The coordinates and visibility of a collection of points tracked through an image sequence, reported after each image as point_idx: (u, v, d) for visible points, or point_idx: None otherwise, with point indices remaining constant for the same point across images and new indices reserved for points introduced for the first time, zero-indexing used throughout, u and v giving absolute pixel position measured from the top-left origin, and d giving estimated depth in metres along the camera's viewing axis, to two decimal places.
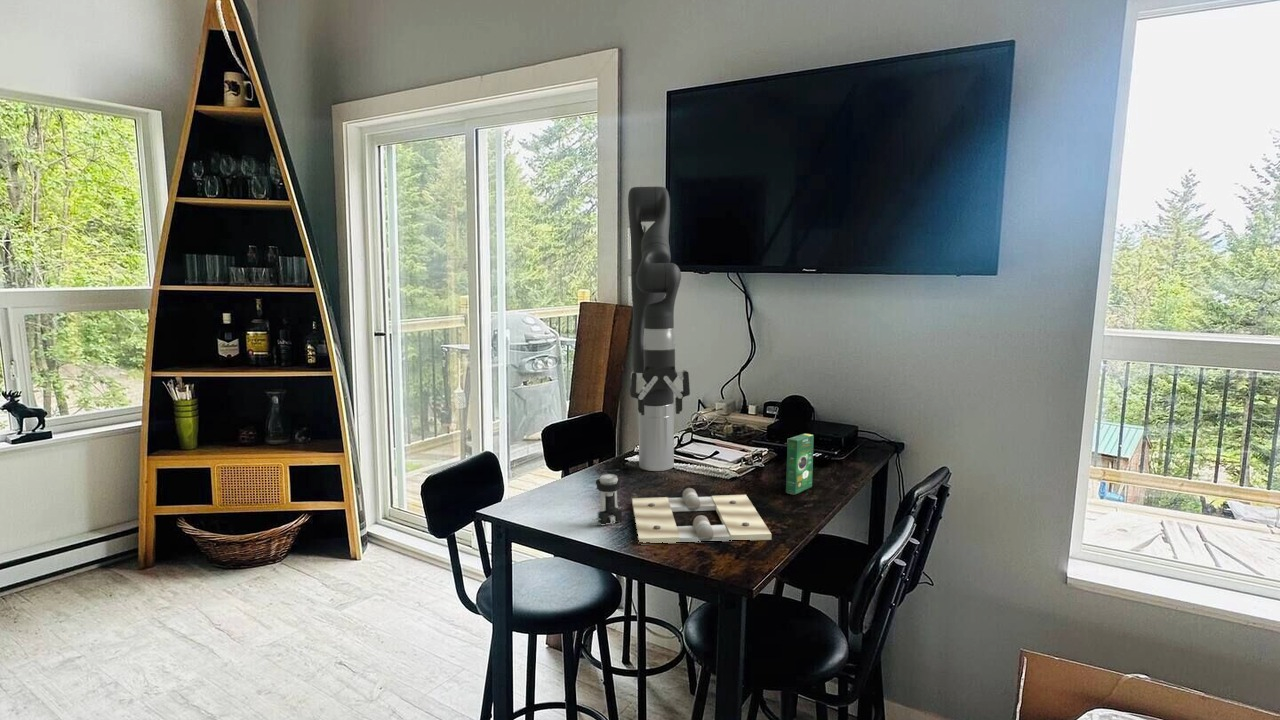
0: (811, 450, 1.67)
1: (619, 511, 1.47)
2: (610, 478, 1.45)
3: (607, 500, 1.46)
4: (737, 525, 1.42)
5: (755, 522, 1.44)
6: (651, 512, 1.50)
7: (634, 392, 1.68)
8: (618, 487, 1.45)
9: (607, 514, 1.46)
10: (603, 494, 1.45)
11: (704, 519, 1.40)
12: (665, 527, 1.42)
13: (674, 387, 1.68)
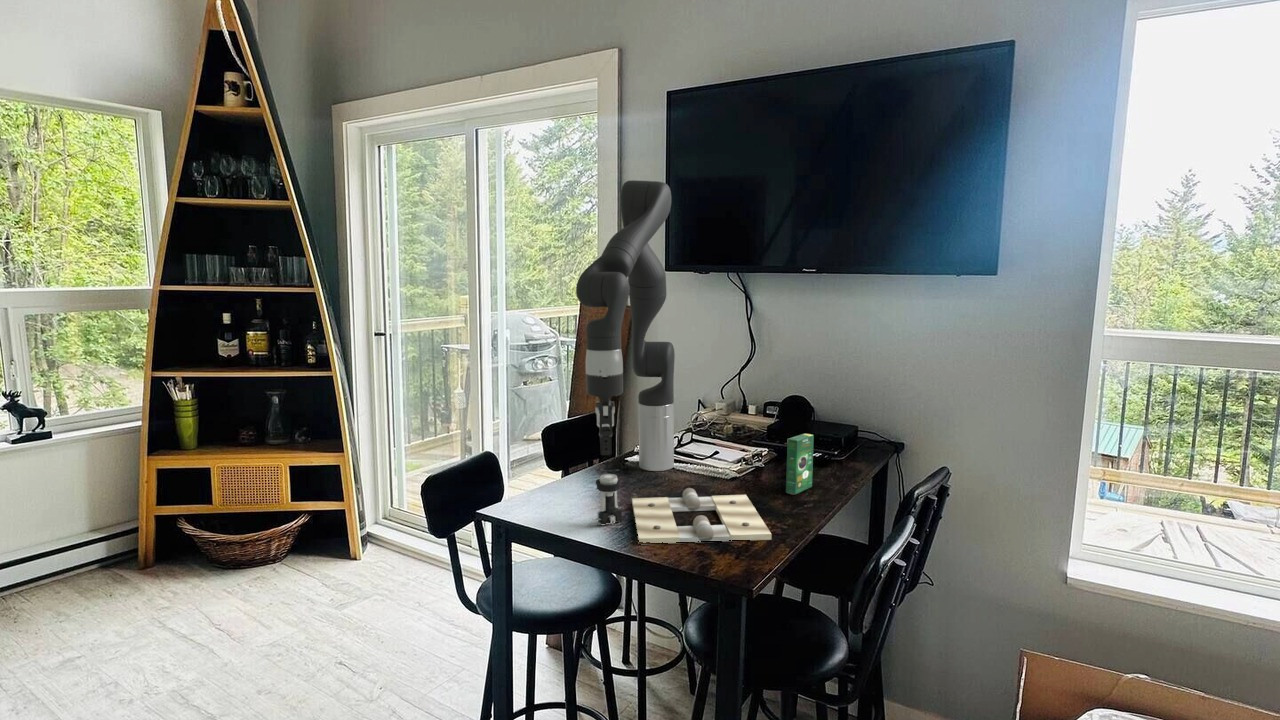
0: (811, 450, 1.67)
1: (619, 511, 1.47)
2: (610, 478, 1.45)
3: (607, 500, 1.46)
4: (737, 525, 1.42)
5: (755, 522, 1.44)
6: (651, 512, 1.50)
7: None
8: (618, 487, 1.45)
9: (607, 514, 1.46)
10: (603, 494, 1.45)
11: (704, 519, 1.40)
12: (665, 527, 1.42)
13: None
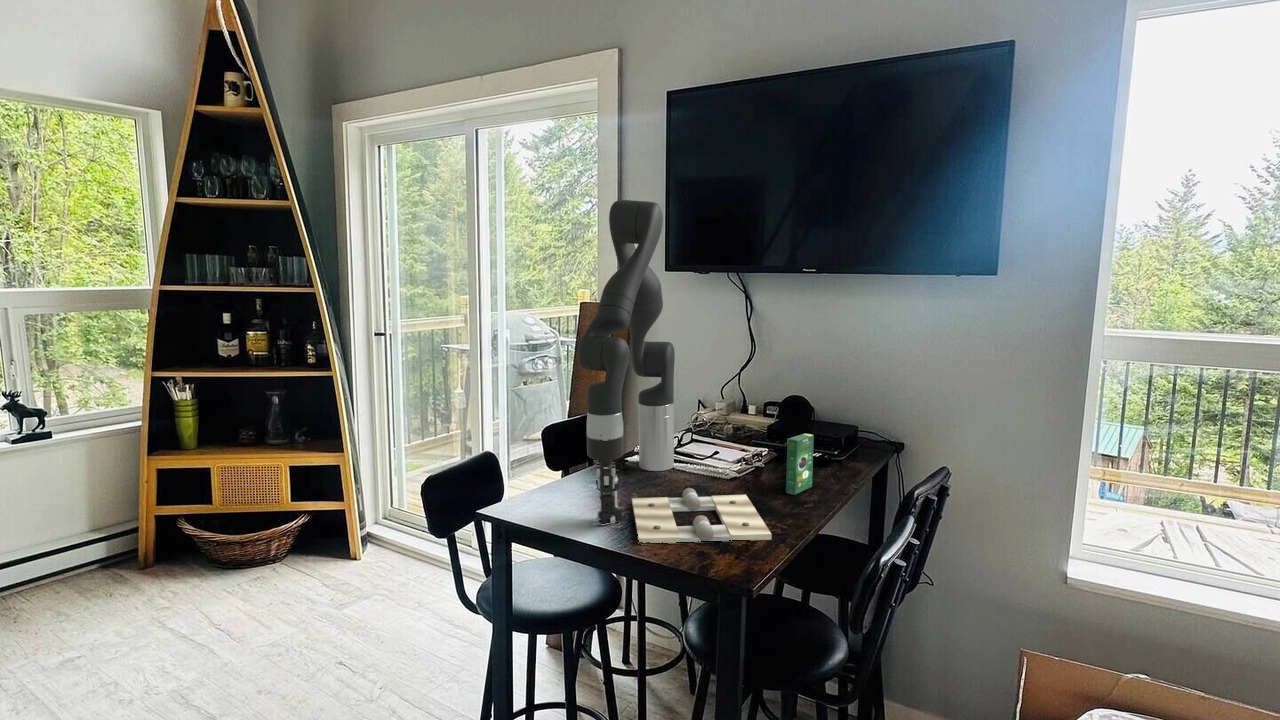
0: (811, 450, 1.67)
1: (619, 511, 1.47)
2: None
3: None
4: (737, 525, 1.42)
5: (755, 522, 1.44)
6: (651, 512, 1.50)
7: None
8: (618, 487, 1.45)
9: None
10: (603, 494, 1.45)
11: (704, 519, 1.40)
12: (665, 527, 1.42)
13: None
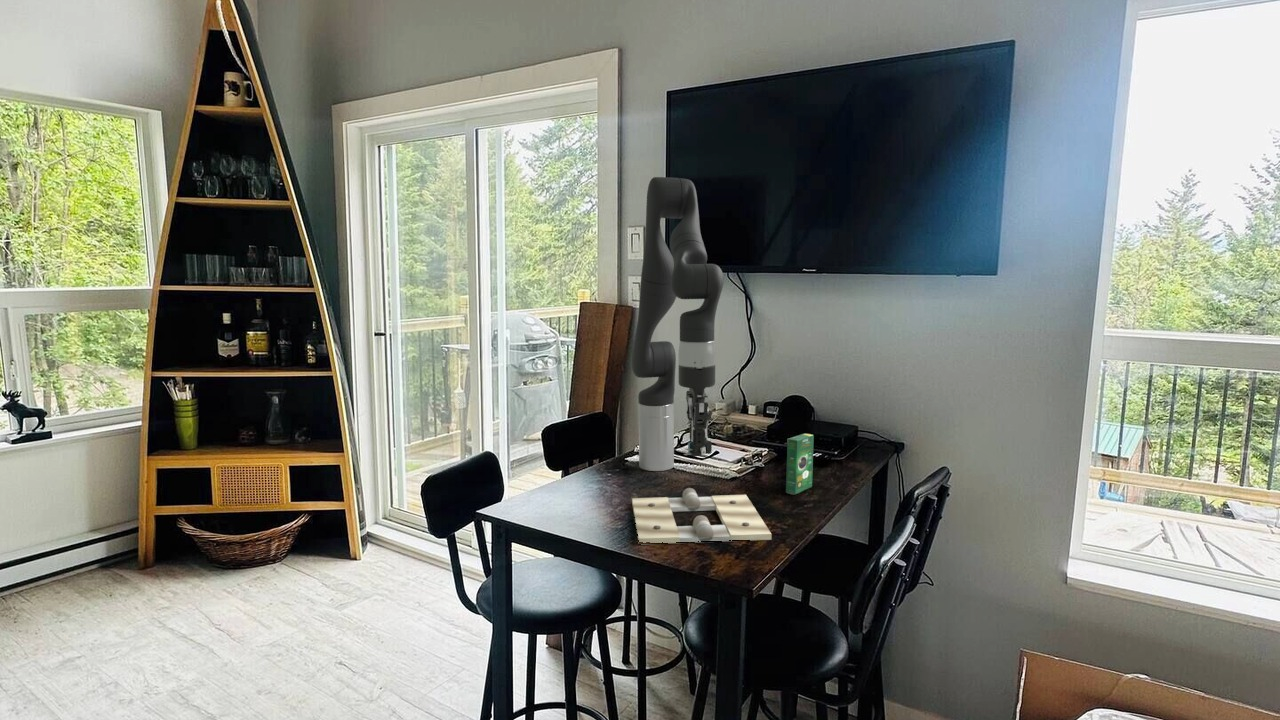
0: (811, 450, 1.67)
1: (709, 442, 1.46)
2: None
3: None
4: (737, 525, 1.42)
5: (755, 522, 1.44)
6: (651, 512, 1.50)
7: None
8: (710, 417, 1.44)
9: None
10: None
11: (704, 519, 1.40)
12: (665, 527, 1.42)
13: None
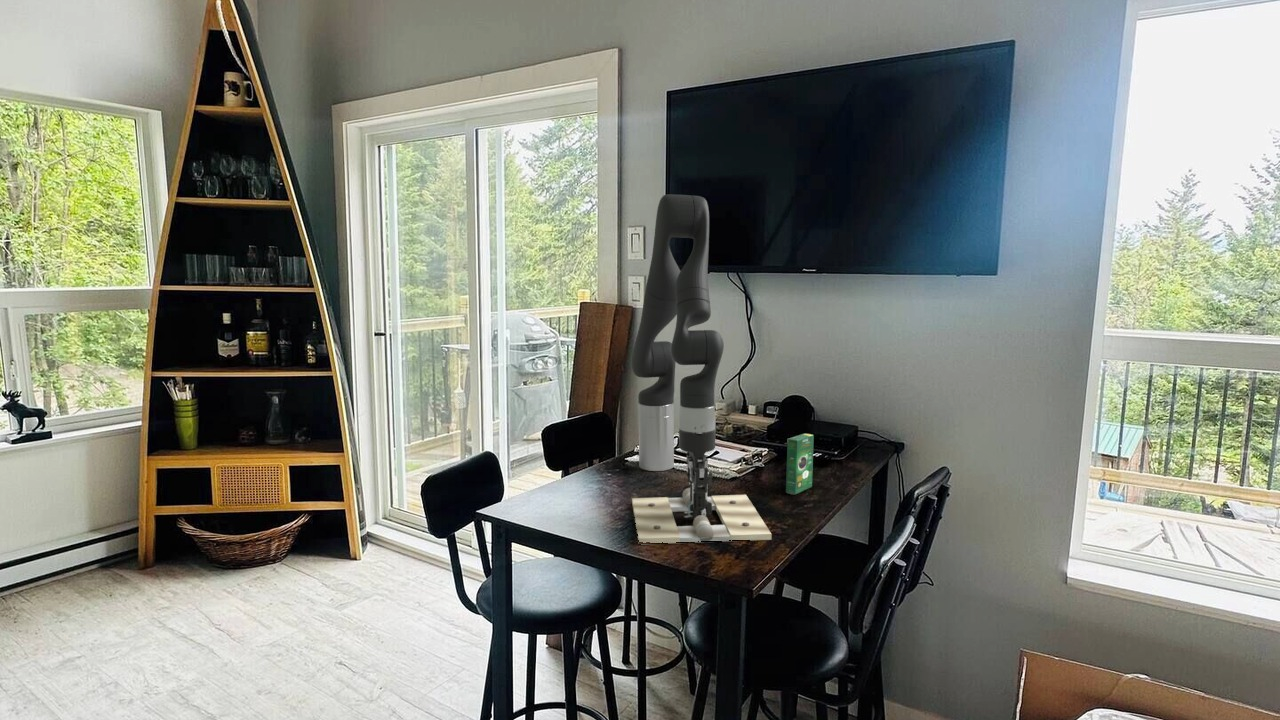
0: (811, 450, 1.67)
1: (709, 504, 1.48)
2: None
3: None
4: (737, 525, 1.42)
5: (755, 522, 1.44)
6: (651, 512, 1.50)
7: None
8: (710, 480, 1.46)
9: None
10: None
11: (704, 519, 1.40)
12: (665, 527, 1.42)
13: None
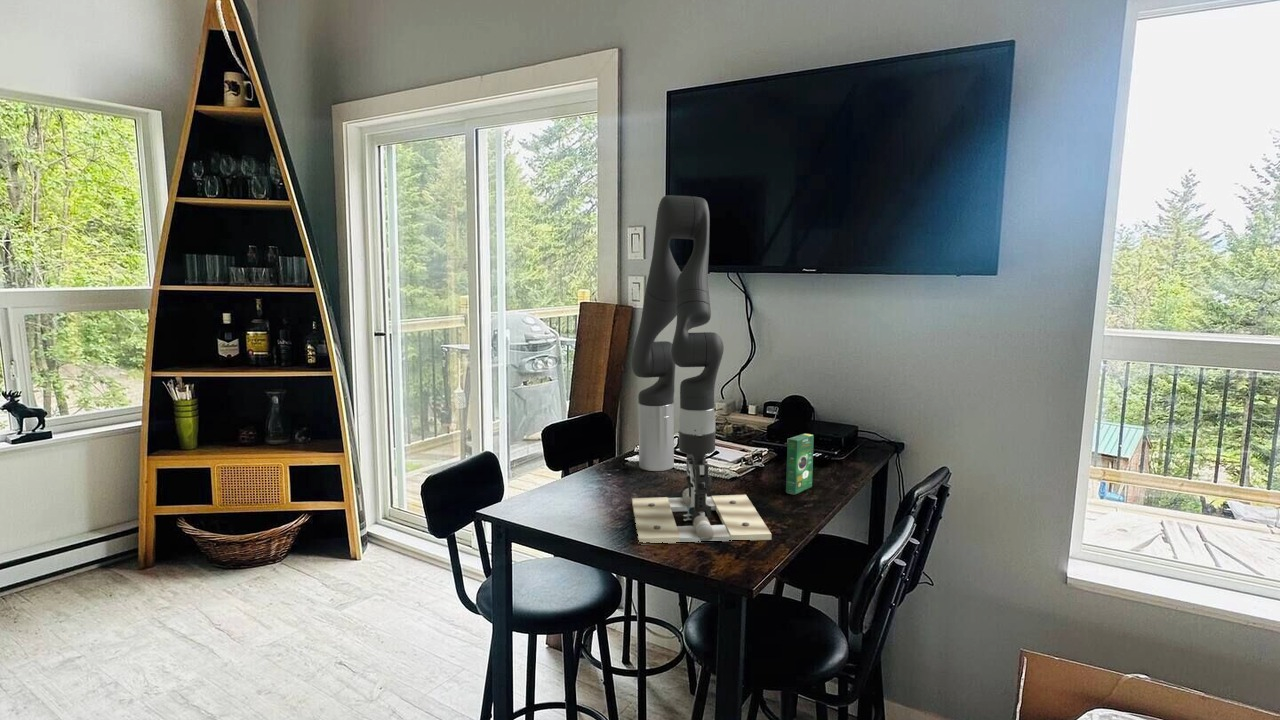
0: (811, 450, 1.67)
1: (709, 507, 1.49)
2: None
3: None
4: (737, 525, 1.42)
5: (755, 522, 1.44)
6: (651, 512, 1.50)
7: None
8: (709, 483, 1.47)
9: None
10: None
11: (704, 519, 1.40)
12: (665, 527, 1.42)
13: None
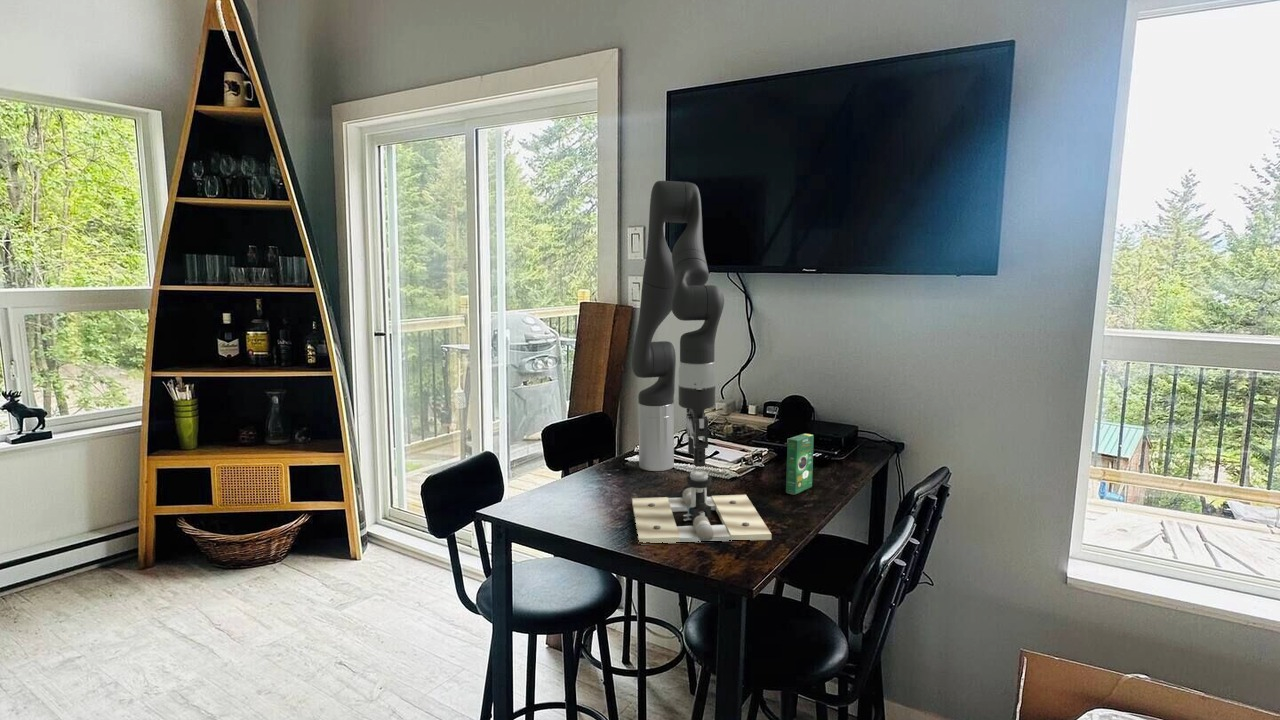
0: (811, 450, 1.67)
1: (709, 507, 1.49)
2: (701, 474, 1.47)
3: (697, 496, 1.48)
4: (737, 525, 1.42)
5: (755, 522, 1.44)
6: (651, 512, 1.50)
7: None
8: (709, 483, 1.47)
9: (697, 510, 1.47)
10: (694, 490, 1.47)
11: (704, 519, 1.40)
12: (665, 527, 1.42)
13: None
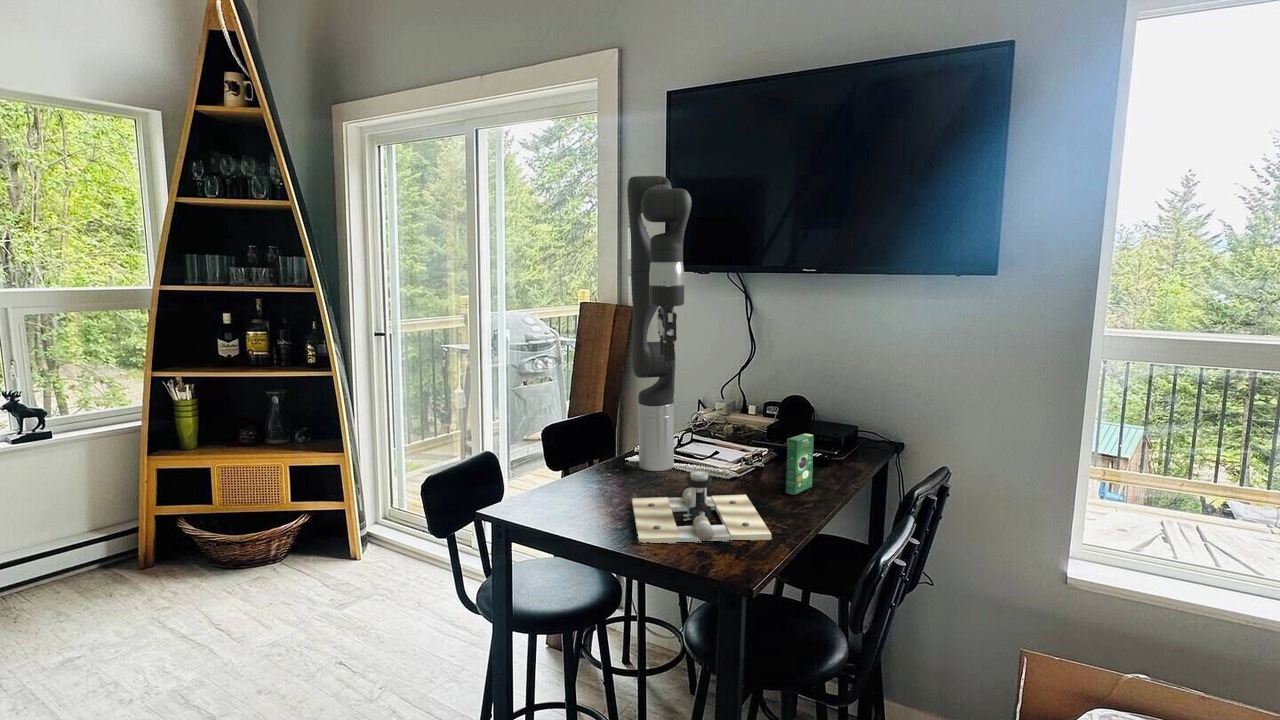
0: (811, 450, 1.67)
1: (709, 507, 1.49)
2: (701, 474, 1.47)
3: (697, 496, 1.48)
4: (737, 525, 1.42)
5: (755, 522, 1.44)
6: (651, 512, 1.50)
7: None
8: (709, 483, 1.47)
9: (697, 510, 1.47)
10: (694, 490, 1.47)
11: (704, 519, 1.40)
12: (665, 527, 1.42)
13: None
